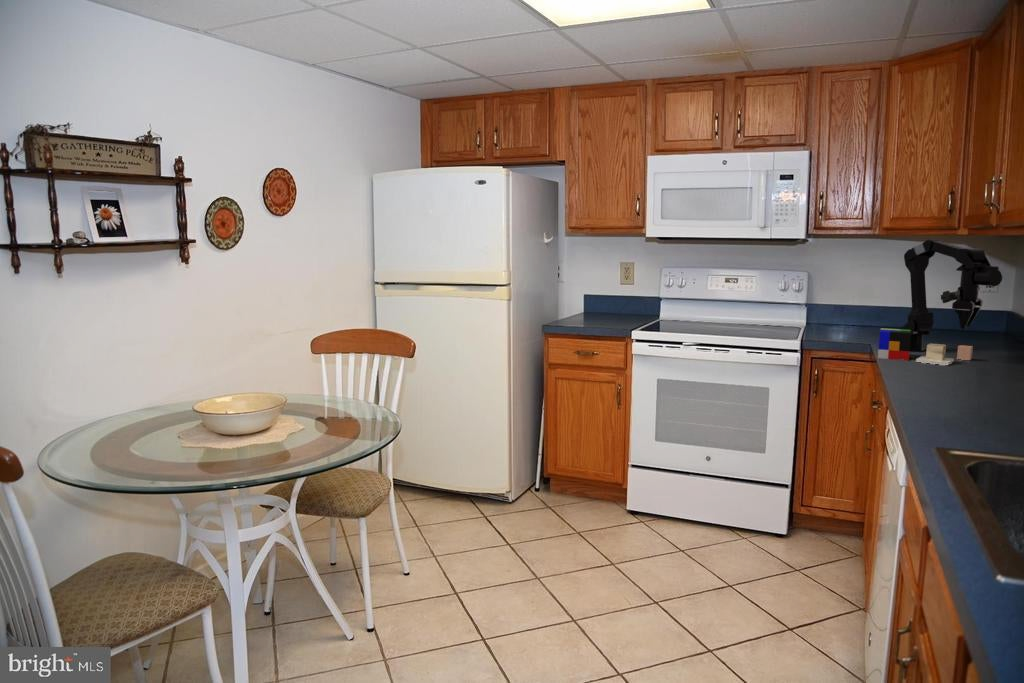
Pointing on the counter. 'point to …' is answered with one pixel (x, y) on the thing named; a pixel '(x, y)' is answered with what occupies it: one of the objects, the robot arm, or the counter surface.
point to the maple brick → (936, 352)
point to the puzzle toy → (894, 344)
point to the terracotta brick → (964, 352)
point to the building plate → (935, 361)
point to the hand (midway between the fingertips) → (965, 327)
